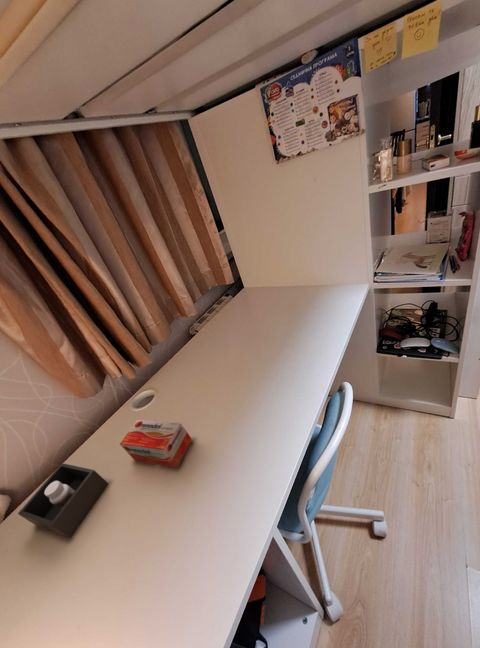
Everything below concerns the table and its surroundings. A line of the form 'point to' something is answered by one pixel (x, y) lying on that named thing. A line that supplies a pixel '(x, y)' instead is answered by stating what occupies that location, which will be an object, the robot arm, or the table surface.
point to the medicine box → (157, 442)
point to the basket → (77, 507)
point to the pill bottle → (59, 493)
